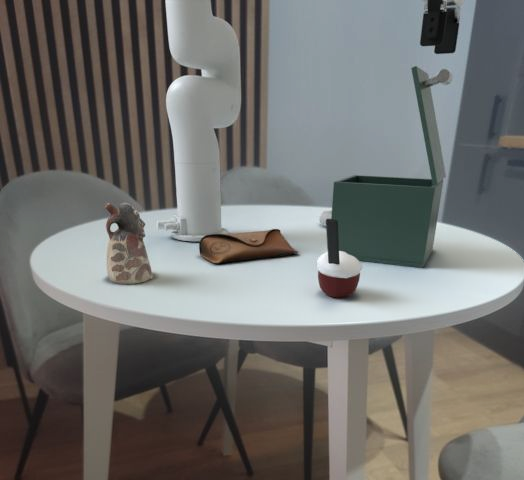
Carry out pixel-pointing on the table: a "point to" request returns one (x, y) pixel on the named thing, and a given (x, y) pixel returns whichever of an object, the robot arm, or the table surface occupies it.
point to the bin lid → (430, 118)
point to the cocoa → (337, 266)
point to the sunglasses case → (244, 246)
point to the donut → (325, 217)
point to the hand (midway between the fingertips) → (438, 49)
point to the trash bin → (386, 218)
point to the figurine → (126, 246)
